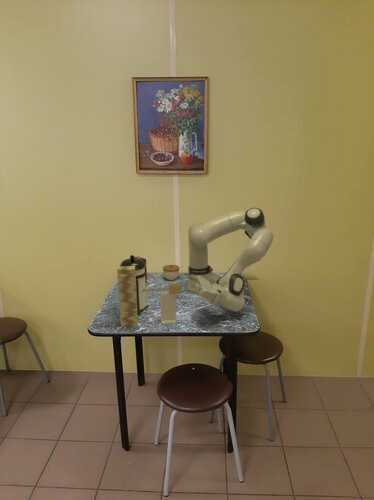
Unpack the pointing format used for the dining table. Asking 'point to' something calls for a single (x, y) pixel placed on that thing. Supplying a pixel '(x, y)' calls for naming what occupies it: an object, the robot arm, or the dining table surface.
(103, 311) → the dining table surface
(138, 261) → the coffee press
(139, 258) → the supplement box
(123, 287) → the birch bearing block
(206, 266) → the robot arm
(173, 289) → the beige mallet
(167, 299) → the cream rest post
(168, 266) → the lidded jar
